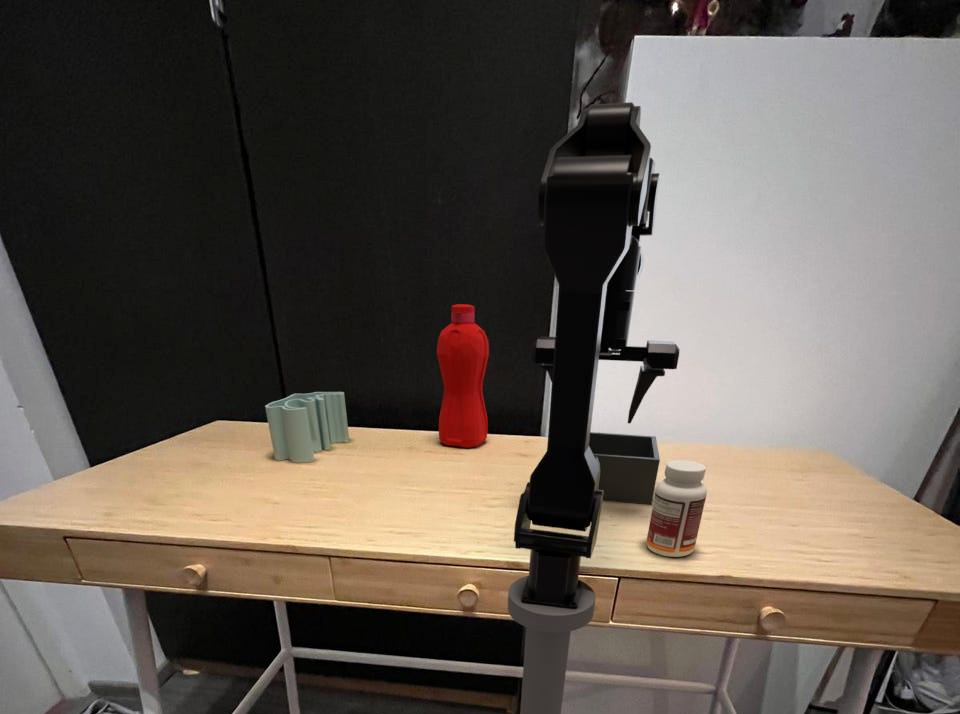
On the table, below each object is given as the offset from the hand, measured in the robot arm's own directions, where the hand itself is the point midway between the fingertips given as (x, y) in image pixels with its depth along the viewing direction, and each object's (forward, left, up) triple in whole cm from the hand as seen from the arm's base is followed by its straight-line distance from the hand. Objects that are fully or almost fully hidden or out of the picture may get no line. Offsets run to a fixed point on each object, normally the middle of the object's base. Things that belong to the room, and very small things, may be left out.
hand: (595, 420), depth 80 cm
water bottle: (+34, +27, -13) cm, 46 cm away
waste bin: (+12, -3, -13) cm, 18 cm away
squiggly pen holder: (+20, +55, -13) cm, 60 cm away
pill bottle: (-12, -12, -13) cm, 21 cm away
